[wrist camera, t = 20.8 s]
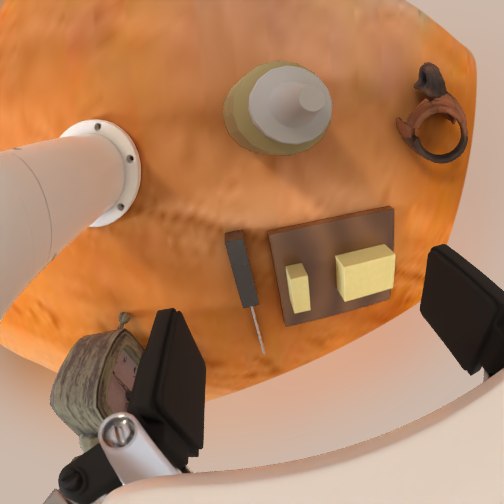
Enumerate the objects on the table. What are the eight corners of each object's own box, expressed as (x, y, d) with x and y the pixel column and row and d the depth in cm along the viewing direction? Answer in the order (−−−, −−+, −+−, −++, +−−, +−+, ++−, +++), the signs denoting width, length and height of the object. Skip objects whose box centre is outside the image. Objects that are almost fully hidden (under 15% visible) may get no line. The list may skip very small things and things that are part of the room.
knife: (255, 343, 40) (257, 356, 37) (225, 233, 32) (224, 242, 29) (269, 340, 40) (271, 353, 37) (242, 229, 32) (243, 238, 29)
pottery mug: (454, 134, 28) (476, 166, 23) (396, 142, 32) (409, 174, 27) (441, 54, 20) (469, 69, 15) (375, 62, 25) (388, 76, 20)
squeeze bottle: (295, 76, 24) (380, 25, 8) (304, 147, 28) (395, 182, 12) (218, 83, 24) (202, 23, 8) (229, 156, 28) (228, 201, 12)
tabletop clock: (173, 368, 41) (156, 512, 19) (128, 374, 42) (100, 502, 19) (129, 300, 35) (68, 471, 12) (83, 312, 35) (15, 453, 13)
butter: (336, 288, 35) (344, 302, 32) (335, 255, 33) (343, 267, 30) (383, 276, 35) (393, 287, 32) (384, 243, 33) (395, 254, 30)
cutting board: (284, 321, 38) (285, 327, 37) (267, 230, 32) (268, 234, 31) (386, 294, 38) (389, 299, 37) (389, 205, 32) (394, 208, 31)
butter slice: (289, 299, 35) (294, 313, 32) (285, 265, 33) (290, 279, 30) (305, 296, 35) (310, 310, 32) (301, 262, 33) (307, 275, 30)
